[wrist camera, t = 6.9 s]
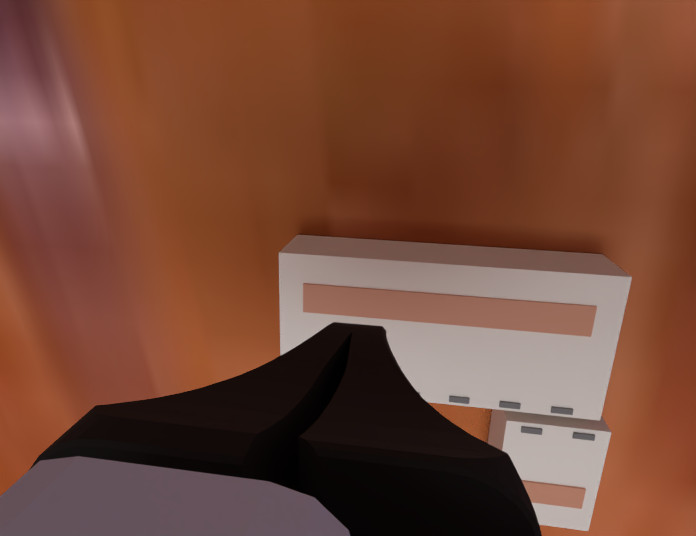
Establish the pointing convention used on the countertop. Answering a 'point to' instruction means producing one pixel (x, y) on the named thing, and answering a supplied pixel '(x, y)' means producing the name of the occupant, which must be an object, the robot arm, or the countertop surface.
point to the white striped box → (467, 317)
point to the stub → (554, 462)
